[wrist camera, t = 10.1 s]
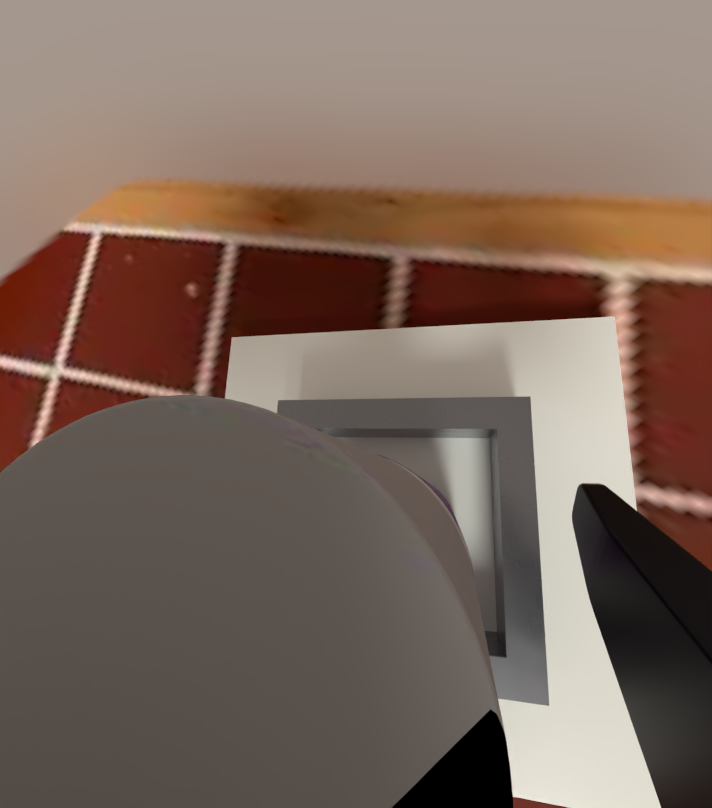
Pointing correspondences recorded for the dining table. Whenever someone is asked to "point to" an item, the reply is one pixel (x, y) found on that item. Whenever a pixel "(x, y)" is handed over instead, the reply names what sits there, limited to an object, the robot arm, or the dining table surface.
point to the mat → (472, 505)
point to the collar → (511, 507)
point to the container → (236, 622)
